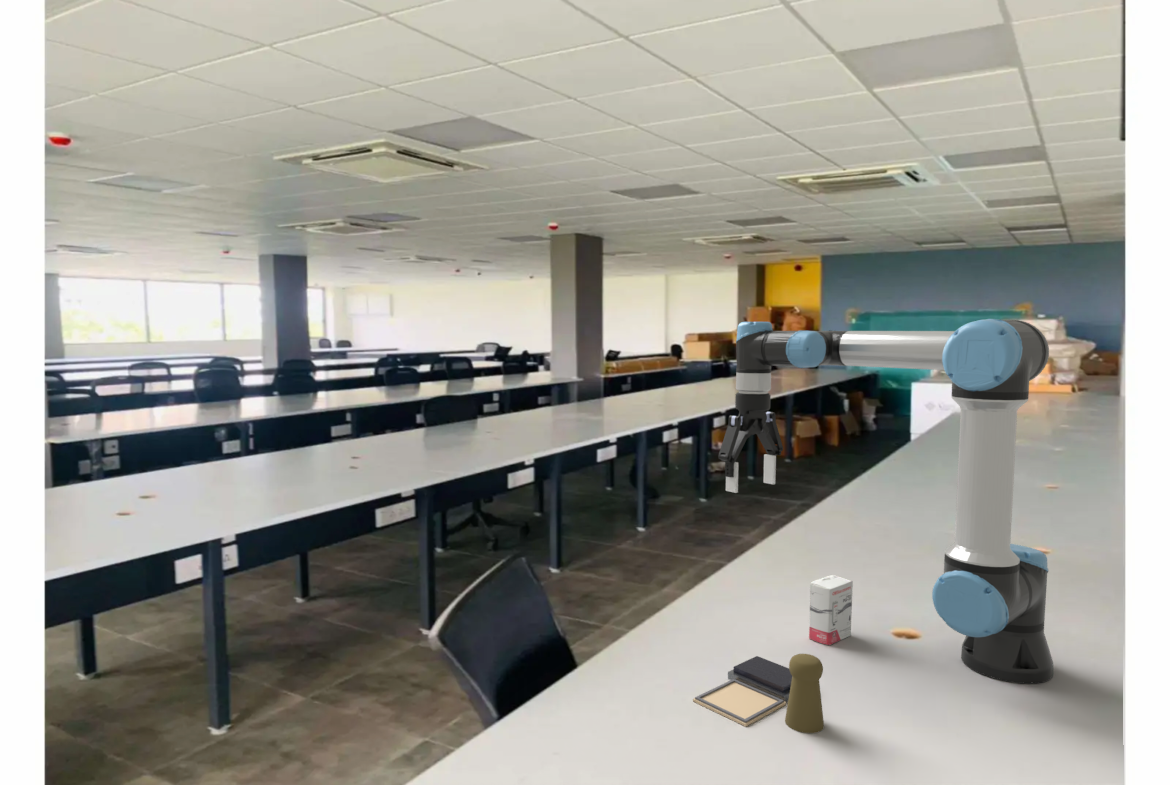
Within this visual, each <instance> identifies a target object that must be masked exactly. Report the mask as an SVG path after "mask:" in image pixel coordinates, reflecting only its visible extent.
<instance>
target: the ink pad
mask: <svg viewBox="0 0 1170 785" xmlns="http://www.w3.org/2000/svg"><path fill="white" fill-rule="evenodd" d="M727 679H728V680H732V679H735V680H738V681H740V682H742V683H745V684H747V685H749V686H752V687H754V688H756V689H759V690H761V691H763V692H766V693H768V694H770V695H773V696H775V697H777V698H780V699H782V700H784V702H786V703H788V699H789V693H790V687H791V681H792V675H791V673H790V669H789V667H786V666H784V665H781V664H779V663H776V662H774V661H771V660H768V659H765V658H763V657H761V656H758V655H756V656H754V657H751V658H749V659H748V660H745V661H743V662H741V663H738V664H736V665H735V666H733V669H731V670H729V671H727Z"/></svg>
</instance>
